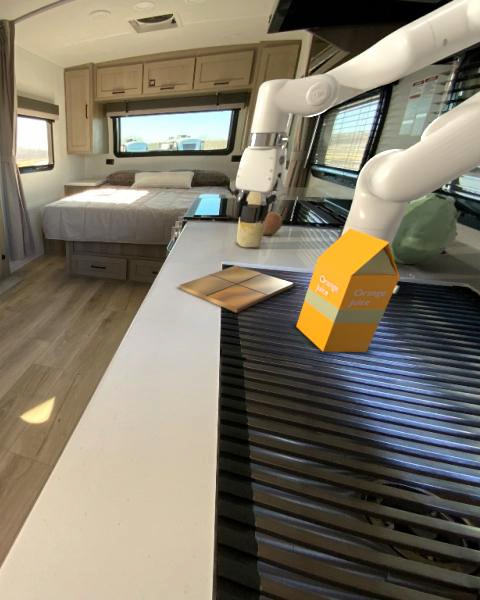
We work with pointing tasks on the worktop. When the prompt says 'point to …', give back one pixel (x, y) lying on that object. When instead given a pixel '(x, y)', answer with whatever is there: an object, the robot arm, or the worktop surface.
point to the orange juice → (348, 293)
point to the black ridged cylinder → (249, 213)
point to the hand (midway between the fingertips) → (250, 217)
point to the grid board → (236, 287)
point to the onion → (272, 223)
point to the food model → (251, 226)
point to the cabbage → (425, 229)
